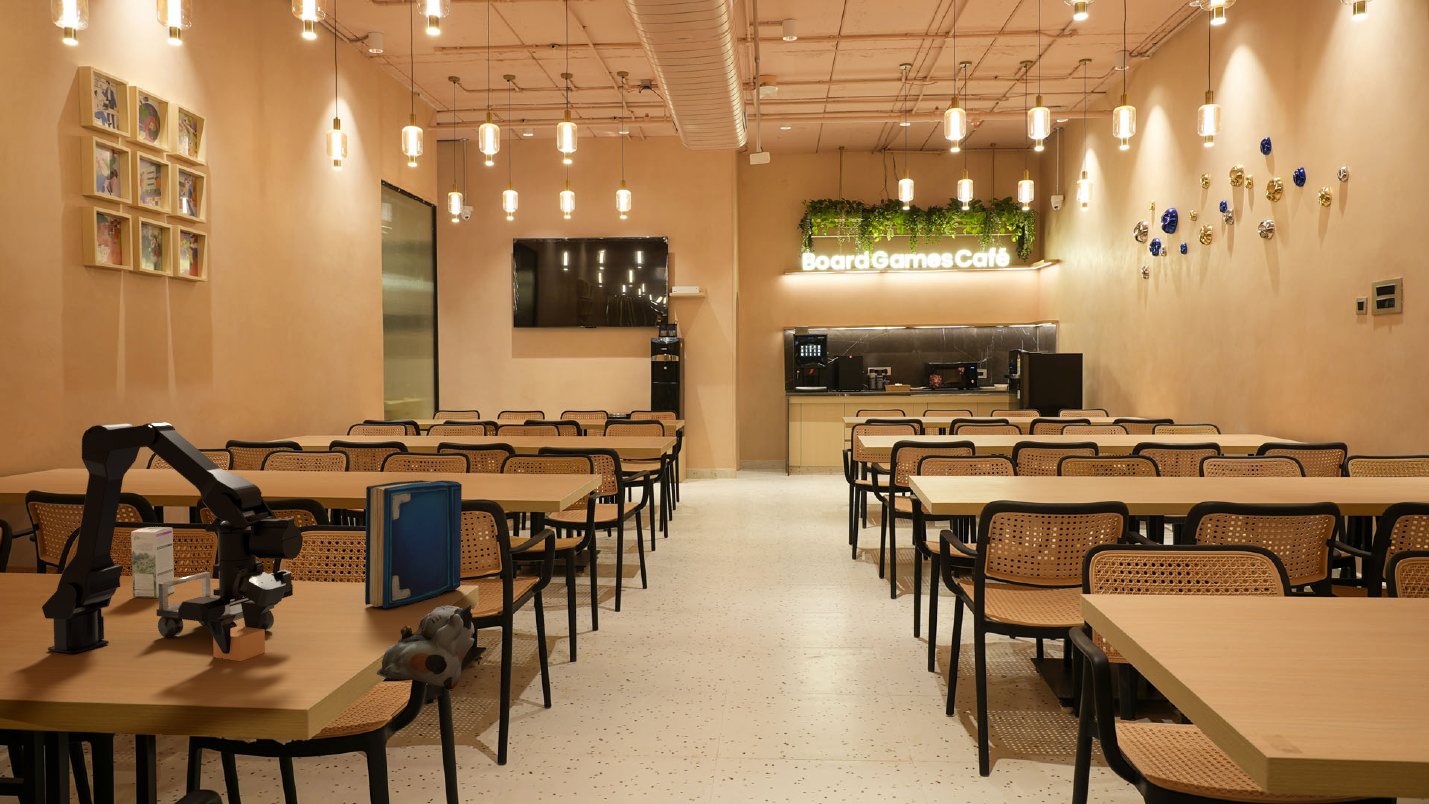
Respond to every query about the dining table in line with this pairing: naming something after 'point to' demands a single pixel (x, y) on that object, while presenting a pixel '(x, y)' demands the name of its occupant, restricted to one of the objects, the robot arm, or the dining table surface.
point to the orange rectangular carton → (242, 644)
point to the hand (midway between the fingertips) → (239, 648)
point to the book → (412, 541)
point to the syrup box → (151, 560)
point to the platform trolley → (169, 614)
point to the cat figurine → (432, 648)
